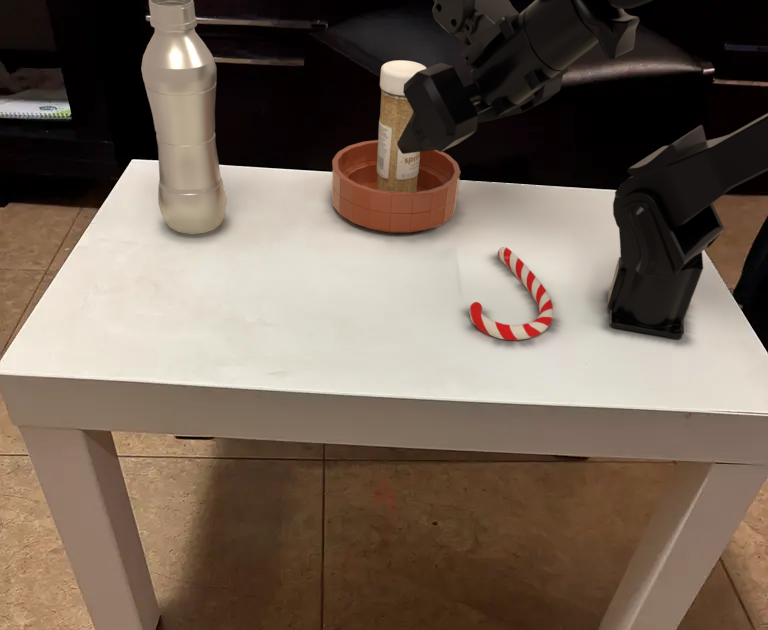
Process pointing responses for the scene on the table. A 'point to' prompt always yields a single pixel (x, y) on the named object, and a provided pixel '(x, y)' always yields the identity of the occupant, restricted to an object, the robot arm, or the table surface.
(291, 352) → the table surface
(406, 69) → the sprinkles bottle
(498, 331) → the candy cane
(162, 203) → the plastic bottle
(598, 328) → the table surface
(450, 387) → the table surface
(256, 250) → the table surface
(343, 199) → the bowl
